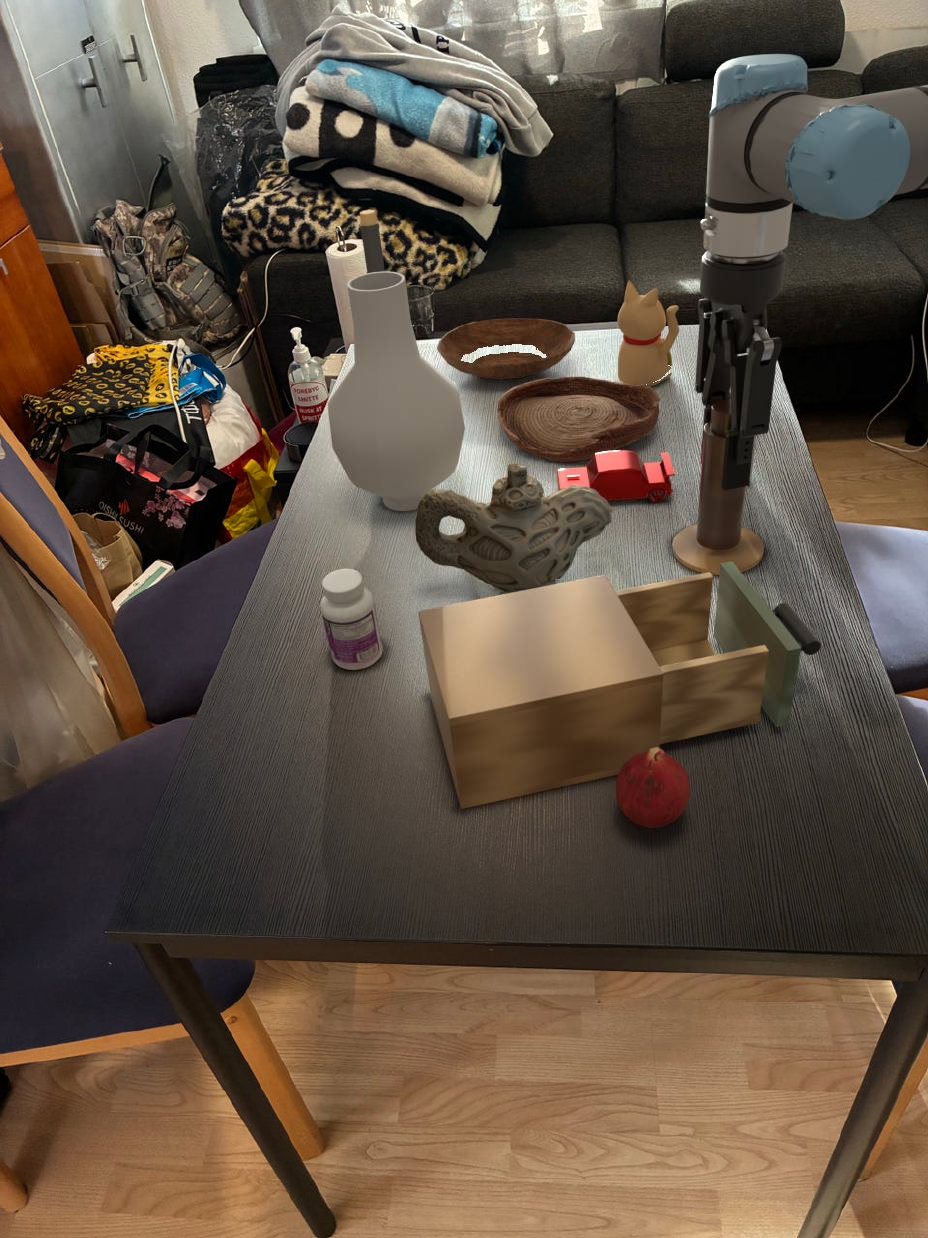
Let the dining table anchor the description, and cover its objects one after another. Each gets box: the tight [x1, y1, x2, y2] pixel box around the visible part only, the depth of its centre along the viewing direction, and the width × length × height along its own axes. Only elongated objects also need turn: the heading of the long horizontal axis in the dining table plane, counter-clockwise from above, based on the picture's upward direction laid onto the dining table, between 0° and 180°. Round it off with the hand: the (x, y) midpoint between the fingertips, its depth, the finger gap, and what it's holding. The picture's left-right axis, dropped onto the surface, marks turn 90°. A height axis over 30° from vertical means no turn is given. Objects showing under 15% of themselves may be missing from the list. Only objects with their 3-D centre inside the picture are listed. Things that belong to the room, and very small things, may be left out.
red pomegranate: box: [615, 747, 691, 829], centre depth 74 cm, size 6×6×8 cm
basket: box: [496, 376, 661, 463], centre depth 131 cm, size 22×20×5 cm
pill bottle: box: [320, 568, 384, 671], centre depth 94 cm, size 5×5×10 cm
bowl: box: [436, 317, 576, 380], centre depth 150 cm, size 20×22×5 cm
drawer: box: [615, 561, 822, 745], centre depth 85 cm, size 21×13×9 cm, turn 102°
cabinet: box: [417, 574, 664, 810], centre depth 83 cm, size 18×15×11 cm
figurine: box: [617, 279, 680, 387], centre depth 139 cm, size 9×10×15 cm
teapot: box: [414, 463, 613, 593], centre depth 100 cm, size 21×12×15 cm, turn 99°
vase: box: [327, 270, 466, 512], centre depth 113 cm, size 17×16×28 cm
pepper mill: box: [696, 399, 747, 550], centre depth 101 cm, size 5×5×16 cm
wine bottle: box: [359, 209, 413, 325], centre depth 130 cm, size 8×8×30 cm
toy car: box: [556, 449, 676, 504], centre depth 116 cm, size 14×6×5 cm, turn 89°
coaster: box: [671, 523, 765, 576], centre depth 106 cm, size 10×10×1 cm
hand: (724, 473), depth 101 cm, fingers closed on pepper mill, 5 cm apart
